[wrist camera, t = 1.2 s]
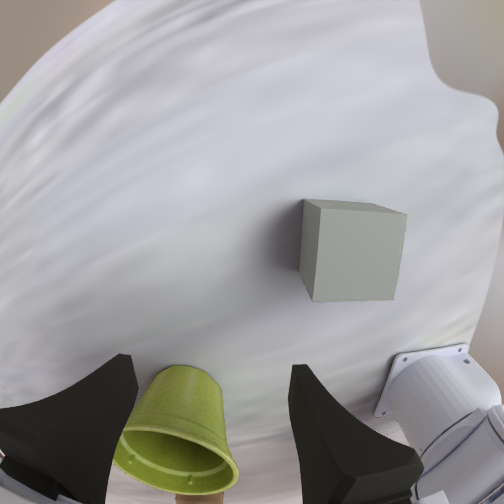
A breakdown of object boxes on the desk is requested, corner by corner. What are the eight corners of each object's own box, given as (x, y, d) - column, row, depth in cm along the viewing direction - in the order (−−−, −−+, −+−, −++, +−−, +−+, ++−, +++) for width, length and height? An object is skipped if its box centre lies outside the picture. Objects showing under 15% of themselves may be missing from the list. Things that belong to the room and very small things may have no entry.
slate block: (372, 203, 19) (407, 214, 14) (364, 271, 20) (393, 300, 15) (303, 198, 19) (321, 208, 14) (298, 270, 20) (312, 301, 15)
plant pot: (236, 428, 25) (233, 501, 16) (142, 413, 24) (118, 480, 16) (247, 356, 22) (246, 442, 14) (133, 339, 22) (89, 411, 13)
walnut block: (222, 471, 27) (219, 504, 22) (223, 487, 28) (221, 517, 24) (181, 467, 27) (175, 499, 22) (186, 484, 28) (181, 512, 24)
